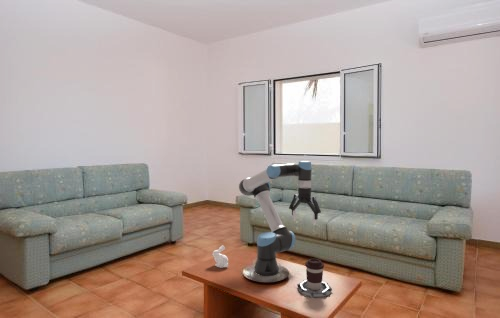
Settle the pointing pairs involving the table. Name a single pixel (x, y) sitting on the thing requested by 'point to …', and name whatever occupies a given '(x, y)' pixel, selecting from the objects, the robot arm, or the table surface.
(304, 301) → the table surface
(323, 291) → the grey flat octagonal tray
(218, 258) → the rabbit
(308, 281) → the coffee cup
